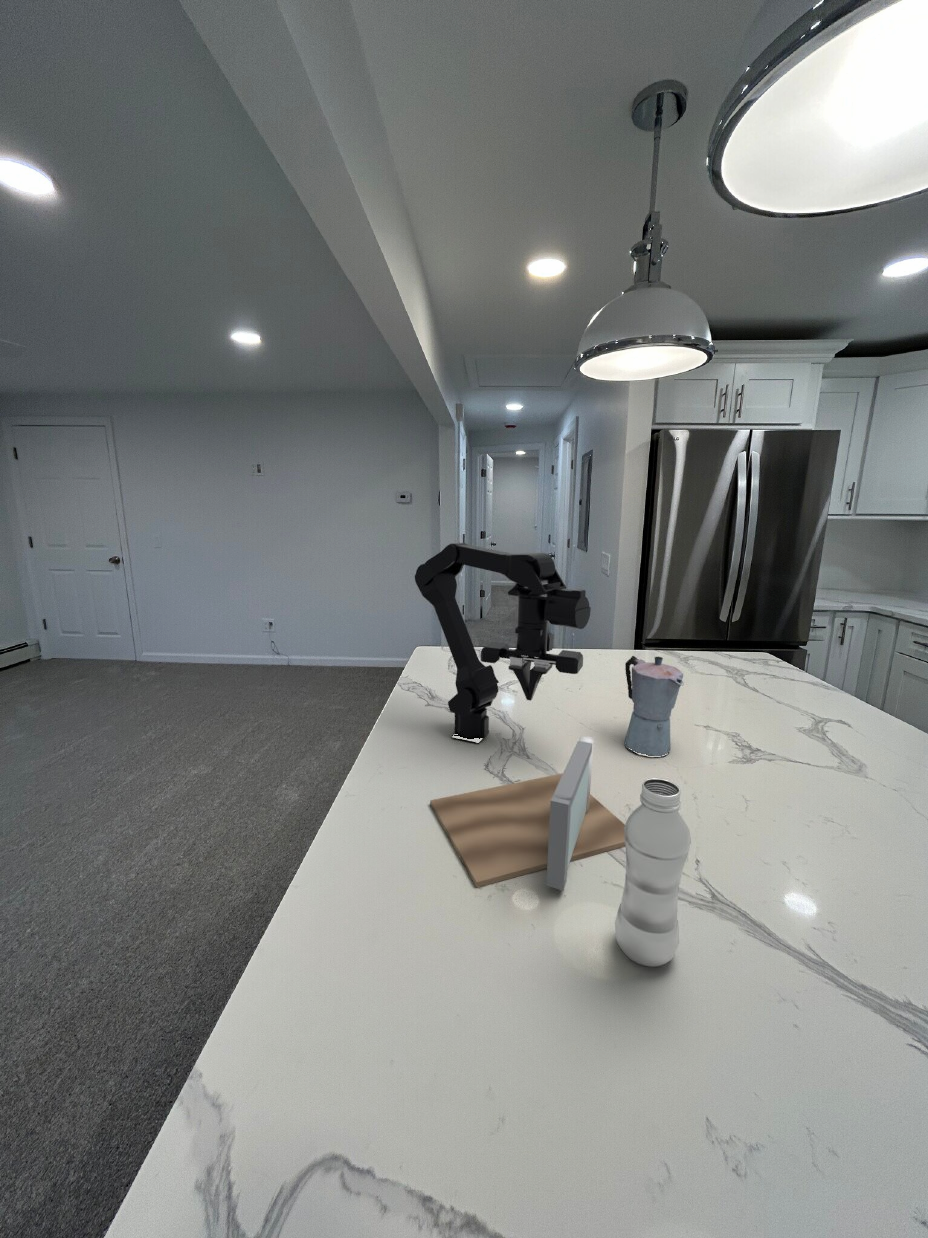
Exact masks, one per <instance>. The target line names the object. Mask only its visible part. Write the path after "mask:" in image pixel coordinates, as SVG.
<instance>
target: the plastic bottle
mask: <svg viewBox="0 0 928 1238" xmlns="http://www.w3.org/2000/svg"><path fill="white" fill-rule="evenodd" d="M639 800H640V805H639V806H637V807H636V808H635V809H634V810H633V811H631V813H630V814H629V815H628V817H627V820H626V821H625V823H624V824H625V877H624V878H625V879H624V886H623V887H624V888H623V890H622V891H623V892H622V896H621V901H620V903H619V905H618V909H617V912H616V916H615V920H614V931H615V939H616V941H617V942H616V943H617V945H618V946H619V948H620V949H621V950H622V952H623V953H624V954H625V955H626V956H627V957H628V958H629V959H630V960H631V961H633V962H635V963H637V964H639V965H642V966H644V967H650V968H653V967H654V968H656V967H661V966H664V965H665V964H667V963H668V962H670V961H672V959H673V958H674V957H675V955H676V952H677V949H678V946H679V943H680V927H679V926H680V925H679V920H678V903H679V902H678V900H679V899H678V898H679V893H680V885H681V881H682V875H683V871H684V868H685V865H686V862H687V859H688V856H689V852H690V849H691V844H692V836H691V832H690V828H689V826H688V824H687V823H686V821H685V819H684V818H683V816H682V815H681V814H680V812H679V811H680V809H681V789H680V786H678V785H677V784H676V783H674V782H672V781H670V780H667V779H663V778H658V777H655V778H654V777H653V778H648V779H645V780H643V782H642V785H641V793H640V797H639Z"/></svg>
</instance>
